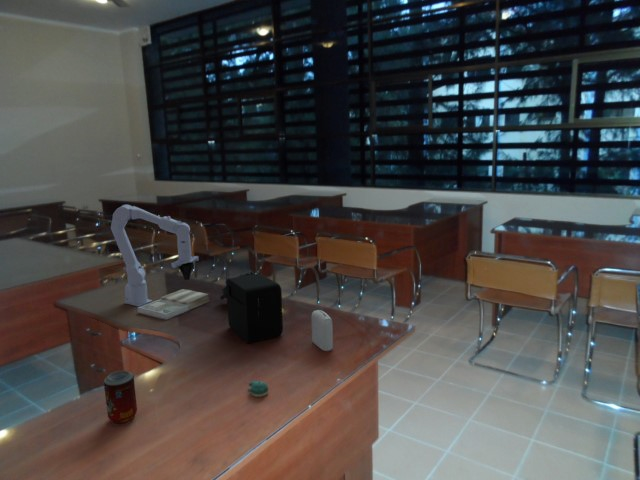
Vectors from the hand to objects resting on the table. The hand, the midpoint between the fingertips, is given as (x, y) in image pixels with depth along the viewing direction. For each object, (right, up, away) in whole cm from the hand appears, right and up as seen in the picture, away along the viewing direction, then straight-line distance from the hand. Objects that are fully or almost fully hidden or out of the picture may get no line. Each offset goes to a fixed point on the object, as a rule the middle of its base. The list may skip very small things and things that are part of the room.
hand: (186, 279), depth 212 cm
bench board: (0, -10, -3) cm, 11 cm away
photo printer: (+61, -19, -49) cm, 81 cm away
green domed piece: (+43, -26, -79) cm, 93 cm away
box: (-6, -13, -14) cm, 20 cm away
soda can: (+9, -29, -91) cm, 96 cm away
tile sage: (-2, -11, -17) cm, 20 cm away
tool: (+27, -10, -4) cm, 29 cm away
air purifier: (+37, -17, -36) cm, 54 cm away
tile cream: (-9, -10, -12) cm, 18 cm away
